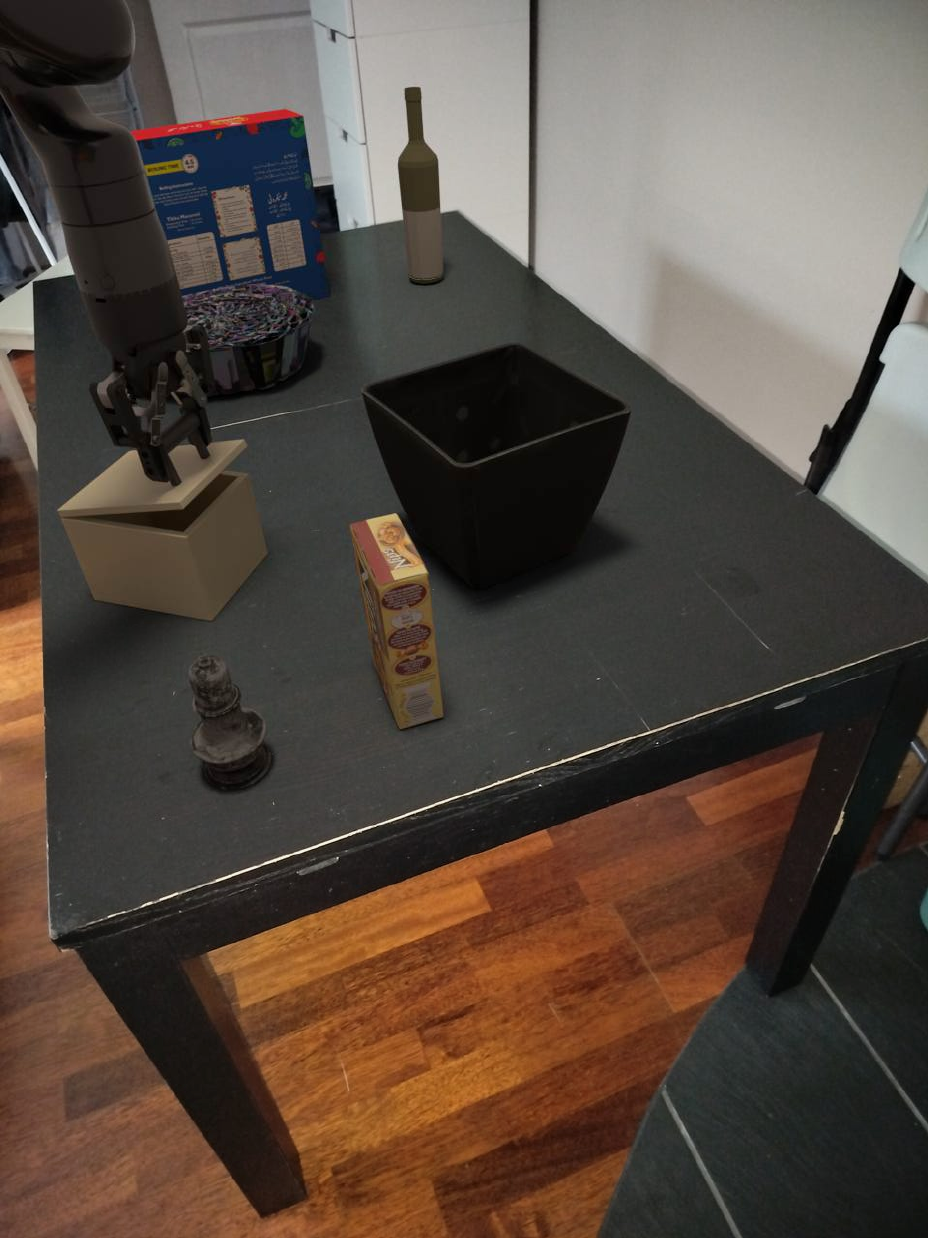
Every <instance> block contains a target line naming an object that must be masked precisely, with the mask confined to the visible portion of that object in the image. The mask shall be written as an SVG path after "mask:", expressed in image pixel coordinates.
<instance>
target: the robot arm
mask: <svg viewBox="0 0 928 1238" xmlns="http://www.w3.org/2000/svg"><path fill="white" fill-rule="evenodd" d="M132 16H133V15H132V12H131V10H130V8H129V5H128V3H127V2H126V0H0V95H1V97H2V99H3V101H4V103H5V104H6V106H7V108H8V109H9V111H10V113H11V115H12V116H13V118H14V120H15V121H16V123H17V125H18V127H19V129H20V130H21V132H22V134H23V136H24V137H25V138H26V140H27V142H28V143H29V145H30V146H31V148H32V150H33V151H34V153H35V154H36V156H37V157H38V159H39V161H40V163H41V166H42V169H43V172H44V175H45V179H46V182H47V184H48V187H49V190H50V194H51V196H52V199H53V202H54V206H55V209H56V212H57V214H58V218H59V221H60V225H61V228H62V233H63V237H64V243H65V248H66V252H67V256H68V259H69V262H70V265H71V269H72V271H73V274H74V278H75V280H76V283H77V286H78V288H79V292H80V295H81V299H82V302H83V304H84V307H85V310H86V313H87V317H88V319H89V323H90V326H91V328H92V331H93V335H94V337H95V339H96V340H97V341H98V342H99V343H100V344H102V345H103V347H105V348H106V350H107V351H108V353H109V355H110V371H111V373H110V375H109V376H108V377H106V379H104V380H103V381H91V382H90V384H89V388H88V390H89V394H90V397H91V398H92V400H93V403H94V405H95V408H96V409H97V411H98V413H99V416H100V418H101V420H102V422H103V424H104V426H105V428H106V431H107V433H108V435H109V438H110V439H111V441H112V444H113V445H114V446H115V447H118V448H130V449H135V450H137V452H138V455H139V458H140V461H141V464H142V467H143V470H144V473H145V475H146V476H147V478H149V479H150V480H152V481H157V482H164V483H167V482H168V481H170V480H171V479H172V478H173V473H172V470H171V467H170V464H169V460H168V457H167V454H166V451H165V447H164V444H163V442H160V432H161V420H162V419H163V418H165V416H166V400H167V399H168V397H169V396H170V394H171V396H172V398H173V399H174V400H175V401H176V403H177V404H178V405H180V406H181V407H180V408H179V409H178V410H179V413H180V415H181V414H183V413H184V412H185V411H193V412H195V413H196V414H197V415H198V416H199V418H200V421H201V424H200V426H199V427H198V429H199V432H200V434H201V436H202V438H203V440H204V443H205V445H206V447H207V446H208V445H209V444H211V443H213V438H212V437H213V436H212V429H211V425H210V422H209V418H208V414H207V410H206V406H207V404H208V397H206V395H207V394H208V392H213V391H214V390H215V379H214V373H213V368H212V362H211V356H210V350H209V344H208V338H207V333H206V329H205V327H204V326H196V325H187V324H188V318H187V314H186V310H185V306H184V302H183V299H182V295H181V291H180V287H179V283H178V279H177V276H176V272H175V268H174V264H173V260H172V257H171V253H170V249H169V245H168V241H167V238H166V235H165V232H164V230H163V227H162V225H161V222H160V220H159V217H158V215H157V211H156V208H155V204H154V201H153V197H152V193H151V189H150V185H149V182H148V178H147V174H146V170H145V167H144V163H143V159H142V156H141V153H140V149H139V147H138V144H137V141H136V139H135V137H134V136H133V134H132V133H131V132H130V131H131V130H130V129H128V128H127V127H125V126H124V125H121V124H119V123H117V122H114V121H111V120H108V119H106V118H103V117H101V116H99V115H98V114H96V113H95V112H93V111H92V110H91V108H90V107H89V104H88V103H87V102H86V100H85V98H84V97H83V95H82V93H81V92H80V89H79V88H78V86H79V87H87V86H88V87H90V86H91V87H92V86H93V87H94V86H102V85H105V84H109V83H112V82H113V81H115V80H117V79H118V78H119V77H120V76H122V75H123V74H124V73H125V72H126V70H127V69H128V67H129V65H130V64H131V62H132V60H133V58H134V54H135V51H136V30H135V29H136V28H135V23H134V20H133V17H132ZM194 366H198V367H200V369H201V373H202V378H198V377H197V375H196V373H195V367H194ZM137 400H139V401H141V402H150V406H149V407H148V406H140V405H139V404H138V401H137ZM143 417H144V418H146V430H145V429H142V418H143ZM124 429H125V430H124ZM186 439H187V441H188V443H189V445H193V446H195V445H194V443H193V441H192V438H191V436H190V435H189V436H188V437H187V438H186Z"/></svg>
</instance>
